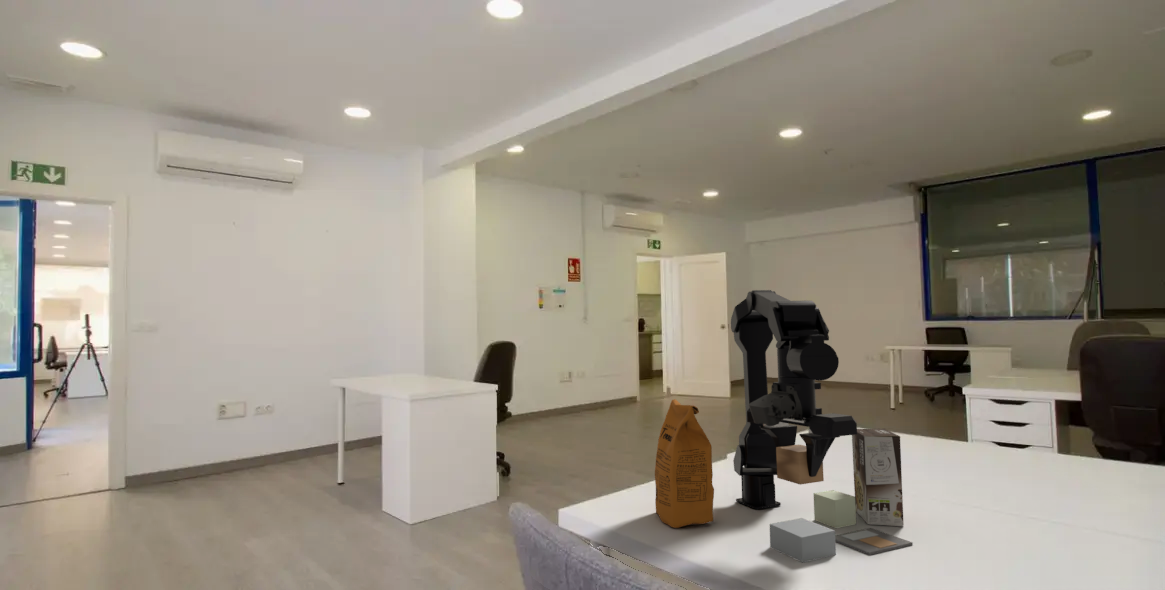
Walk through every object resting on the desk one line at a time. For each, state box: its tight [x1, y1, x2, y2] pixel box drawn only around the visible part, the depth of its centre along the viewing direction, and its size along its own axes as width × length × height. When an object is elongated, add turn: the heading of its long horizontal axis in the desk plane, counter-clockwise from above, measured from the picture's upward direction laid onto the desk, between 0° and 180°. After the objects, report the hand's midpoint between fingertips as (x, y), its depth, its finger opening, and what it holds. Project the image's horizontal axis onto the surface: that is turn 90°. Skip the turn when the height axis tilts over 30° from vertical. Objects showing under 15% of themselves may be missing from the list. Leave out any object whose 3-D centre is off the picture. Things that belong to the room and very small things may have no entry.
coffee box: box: [851, 428, 904, 527], centre depth 110 cm, size 9×6×16 cm
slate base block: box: [769, 517, 837, 563], centre depth 94 cm, size 7×7×4 cm
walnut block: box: [776, 444, 825, 486], centre depth 95 cm, size 5×5×5 cm
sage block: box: [813, 489, 857, 529], centre depth 108 cm, size 5×5×5 cm
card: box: [835, 527, 914, 556], centre depth 97 cm, size 8×10×1 cm
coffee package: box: [654, 398, 715, 529], centre depth 111 cm, size 10×12×22 cm
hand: (799, 473), depth 95 cm, fingers closed on walnut block, 5 cm apart
